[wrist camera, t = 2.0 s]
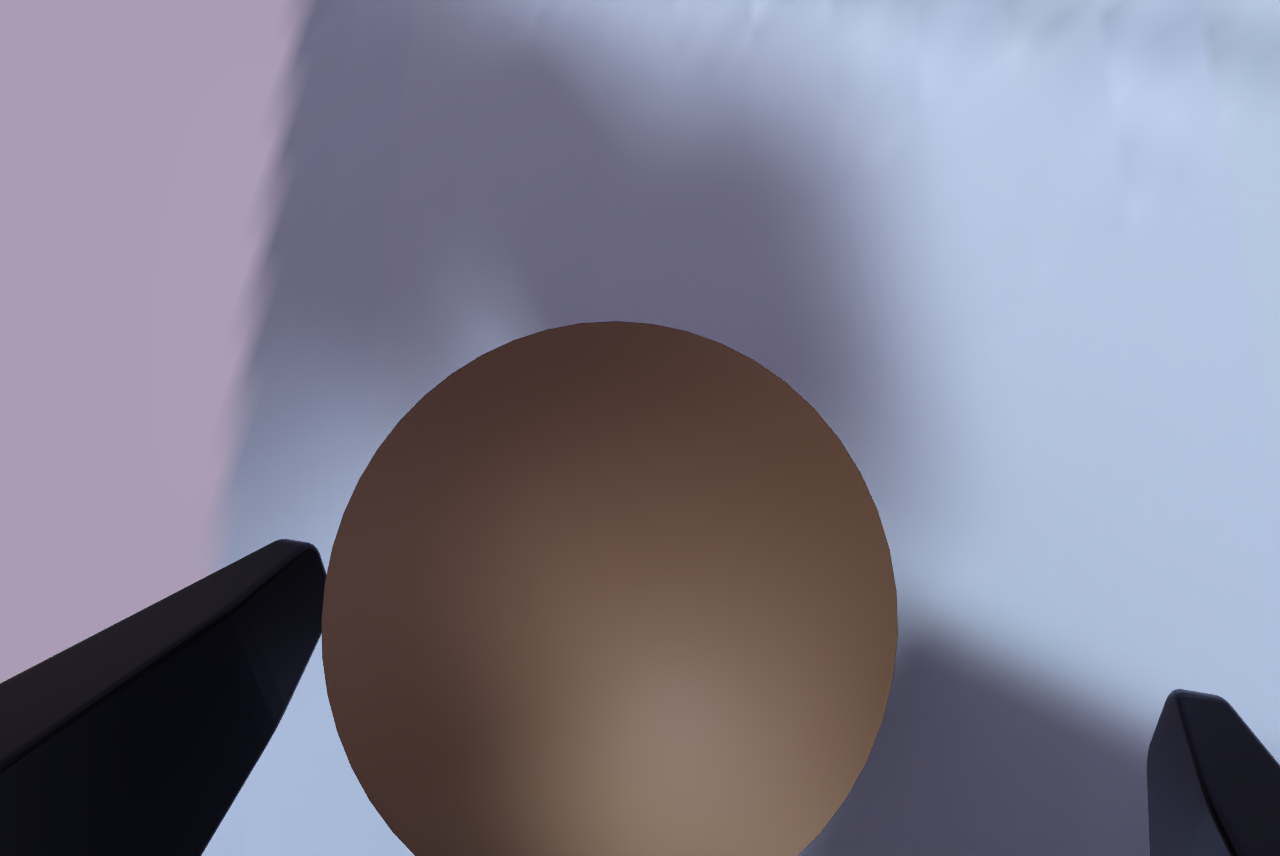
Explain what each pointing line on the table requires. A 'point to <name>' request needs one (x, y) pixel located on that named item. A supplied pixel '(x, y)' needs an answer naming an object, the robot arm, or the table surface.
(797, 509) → the peg
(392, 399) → the table surface
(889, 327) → the table surface
